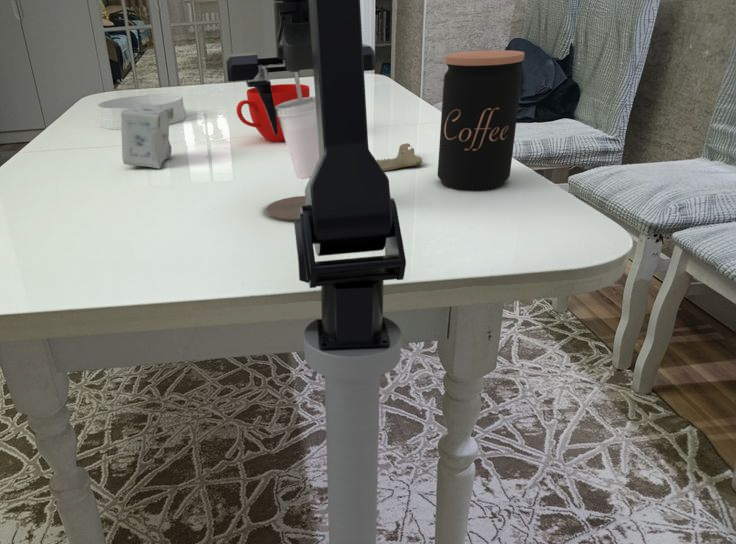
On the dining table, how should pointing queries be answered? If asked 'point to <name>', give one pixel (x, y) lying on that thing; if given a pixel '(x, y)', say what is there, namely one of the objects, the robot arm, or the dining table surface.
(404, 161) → the jawbone
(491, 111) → the coffee jar
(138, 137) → the incense holder
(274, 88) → the ceramic cup
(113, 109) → the dish
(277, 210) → the coaster
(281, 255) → the dining table surface
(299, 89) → the smoothie
